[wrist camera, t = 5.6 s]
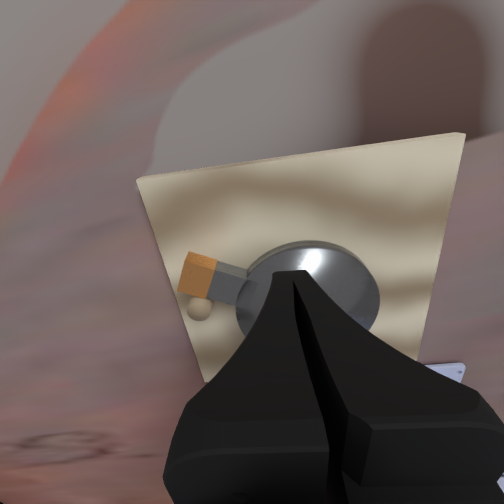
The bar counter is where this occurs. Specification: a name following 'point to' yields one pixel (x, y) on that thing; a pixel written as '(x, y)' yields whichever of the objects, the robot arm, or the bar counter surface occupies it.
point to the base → (312, 226)
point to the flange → (285, 259)
